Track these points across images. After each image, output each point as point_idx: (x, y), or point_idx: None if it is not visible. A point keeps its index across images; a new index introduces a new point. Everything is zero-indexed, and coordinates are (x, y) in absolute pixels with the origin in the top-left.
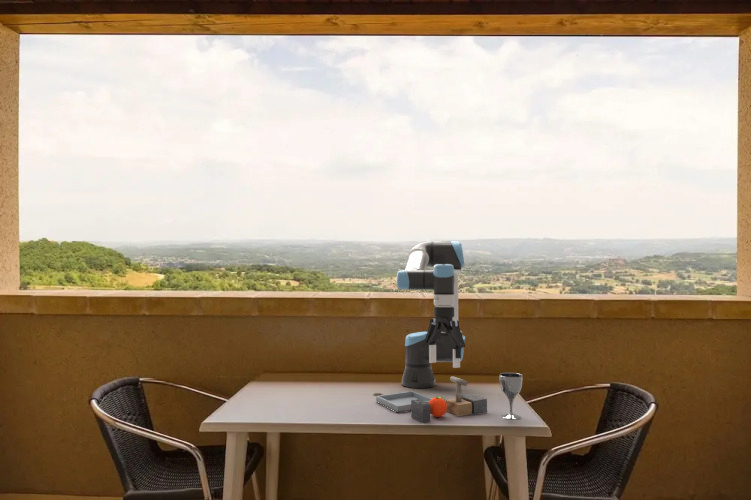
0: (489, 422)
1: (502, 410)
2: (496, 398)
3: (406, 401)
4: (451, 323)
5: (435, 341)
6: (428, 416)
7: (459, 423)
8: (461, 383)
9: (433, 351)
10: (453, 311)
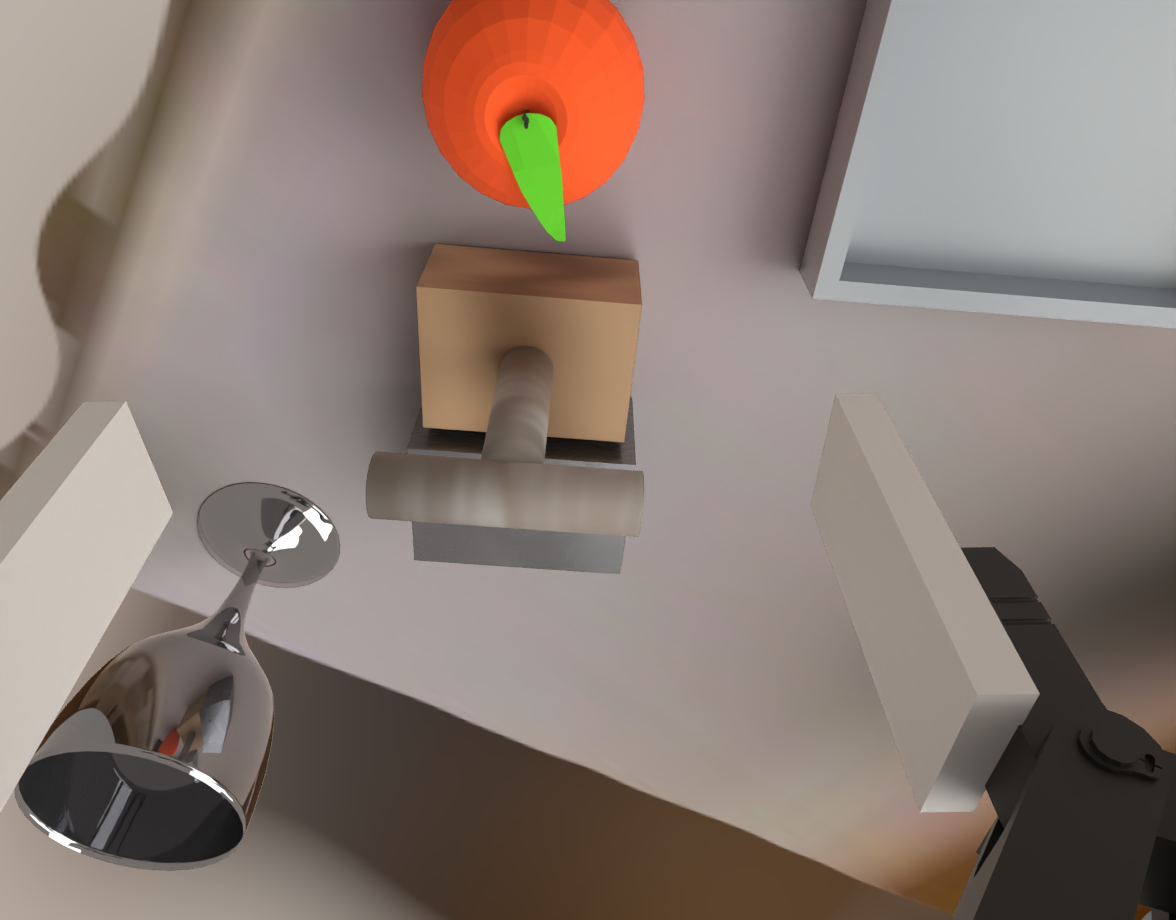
0: (195, 343)
1: (425, 584)
2: (671, 709)
3: (1145, 112)
4: None
5: (960, 899)
6: None
7: (252, 110)
8: (403, 457)
9: (888, 621)
10: None
